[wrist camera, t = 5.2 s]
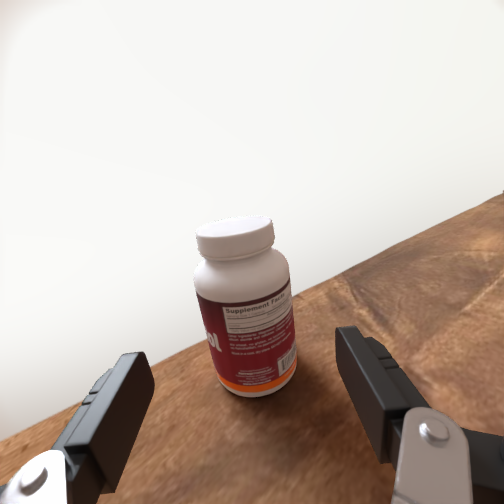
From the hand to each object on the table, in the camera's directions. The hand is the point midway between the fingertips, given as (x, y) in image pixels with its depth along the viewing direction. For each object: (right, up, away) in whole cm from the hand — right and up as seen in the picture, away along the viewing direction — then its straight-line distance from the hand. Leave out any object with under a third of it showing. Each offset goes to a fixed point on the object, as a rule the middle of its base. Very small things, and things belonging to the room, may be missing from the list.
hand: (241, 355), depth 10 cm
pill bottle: (+1, -4, +9) cm, 10 cm away
